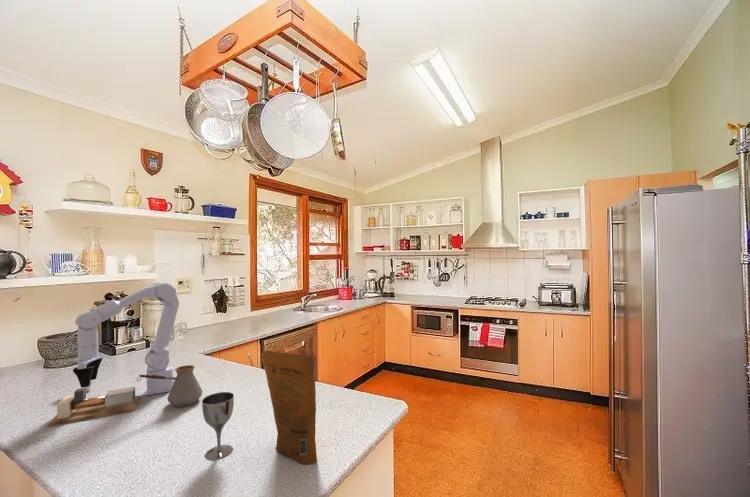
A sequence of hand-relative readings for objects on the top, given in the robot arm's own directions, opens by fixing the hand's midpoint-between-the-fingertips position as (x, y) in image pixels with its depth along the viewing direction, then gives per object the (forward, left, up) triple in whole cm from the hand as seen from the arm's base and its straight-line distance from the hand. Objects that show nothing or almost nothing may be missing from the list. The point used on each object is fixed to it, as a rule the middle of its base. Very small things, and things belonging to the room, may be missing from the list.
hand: (88, 383), depth 120 cm
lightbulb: (+6, -23, -10) cm, 26 cm away
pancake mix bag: (-60, +62, -10) cm, 87 cm away
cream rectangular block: (+5, +2, -10) cm, 11 cm away
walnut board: (-3, +2, -10) cm, 11 cm away
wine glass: (-42, +51, -10) cm, 67 cm away
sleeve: (-10, +2, -10) cm, 14 cm away
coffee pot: (-27, +12, -10) cm, 31 cm away
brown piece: (-1, +2, -8) cm, 8 cm away
